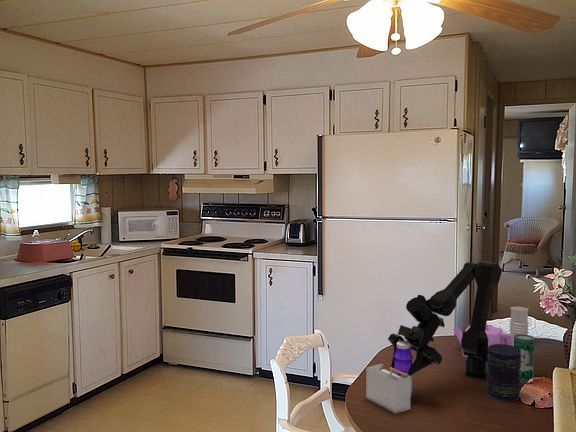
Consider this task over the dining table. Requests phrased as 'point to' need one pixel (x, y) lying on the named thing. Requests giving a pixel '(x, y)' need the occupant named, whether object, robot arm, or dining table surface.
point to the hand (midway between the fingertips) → (400, 371)
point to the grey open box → (388, 389)
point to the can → (525, 356)
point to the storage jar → (503, 372)
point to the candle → (519, 321)
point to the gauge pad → (393, 373)
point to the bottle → (403, 359)
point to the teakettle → (489, 336)
